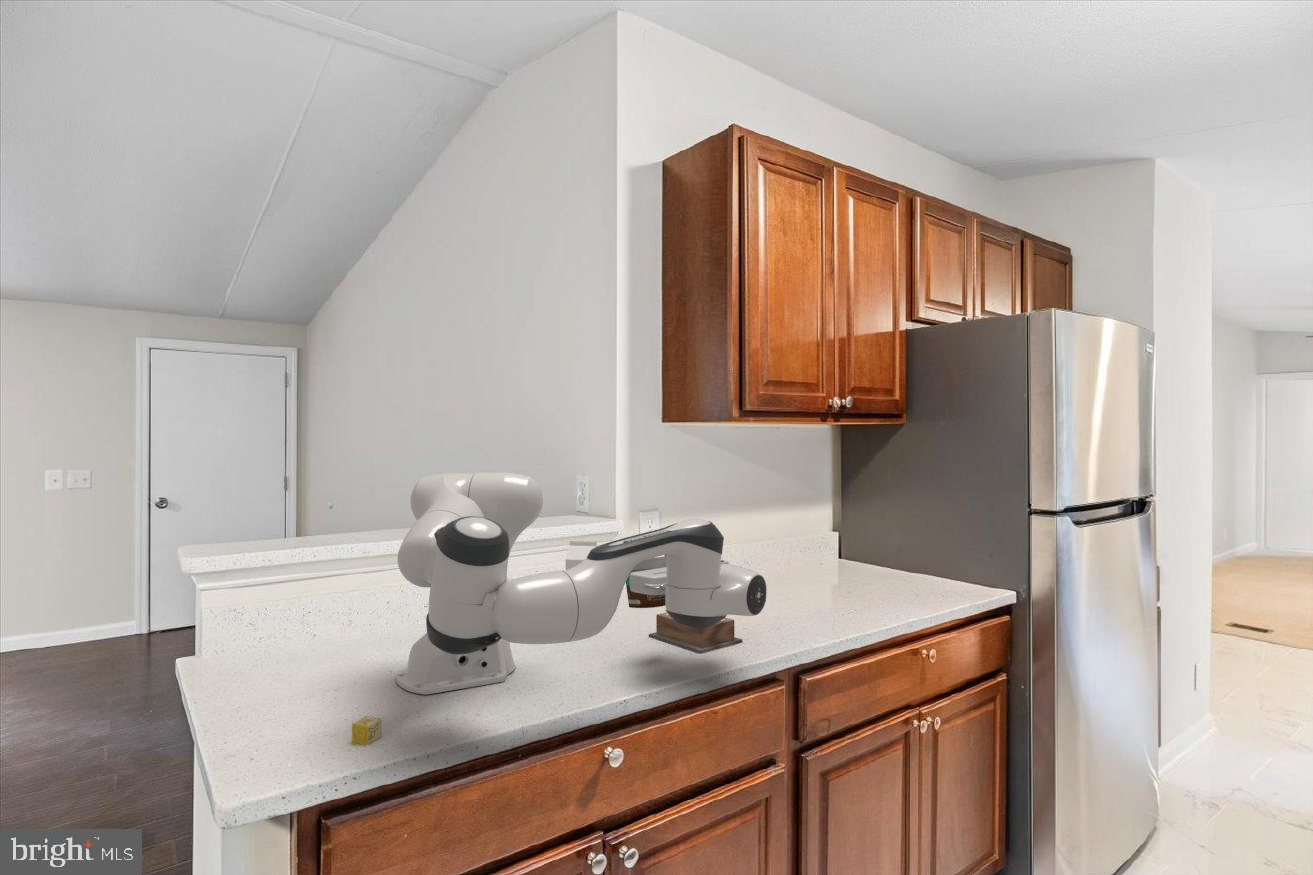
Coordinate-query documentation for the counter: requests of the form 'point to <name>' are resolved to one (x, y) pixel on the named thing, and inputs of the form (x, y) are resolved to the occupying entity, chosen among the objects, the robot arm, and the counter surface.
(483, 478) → the robot arm
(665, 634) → the walnut pedestal
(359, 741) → the alphabet block
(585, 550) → the milk carton
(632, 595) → the food container
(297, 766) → the counter surface
